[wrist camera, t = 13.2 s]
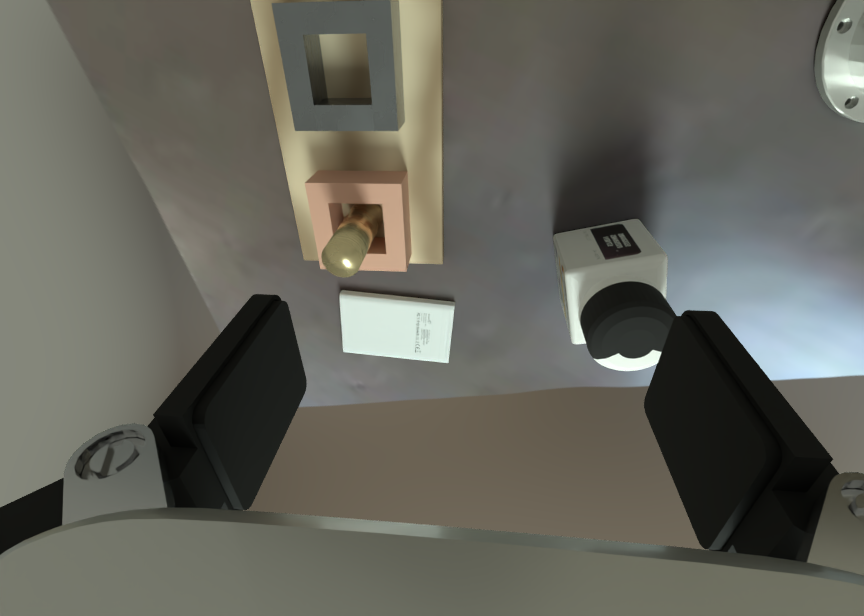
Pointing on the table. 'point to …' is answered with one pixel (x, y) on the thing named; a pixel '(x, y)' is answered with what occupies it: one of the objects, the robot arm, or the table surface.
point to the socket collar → (364, 188)
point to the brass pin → (352, 240)
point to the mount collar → (306, 69)
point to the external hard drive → (396, 326)
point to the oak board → (369, 150)
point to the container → (615, 293)
